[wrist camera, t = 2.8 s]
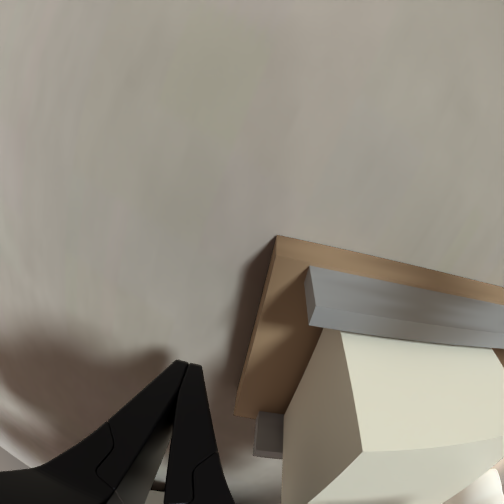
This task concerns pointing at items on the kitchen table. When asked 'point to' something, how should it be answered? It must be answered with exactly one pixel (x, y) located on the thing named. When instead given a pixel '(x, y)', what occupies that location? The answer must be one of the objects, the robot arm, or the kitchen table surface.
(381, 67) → the kitchen table surface
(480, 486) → the water bottle
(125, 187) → the kitchen table surface
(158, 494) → the soup bowl
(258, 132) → the kitchen table surface
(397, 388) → the block
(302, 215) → the kitchen table surface
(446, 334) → the track
